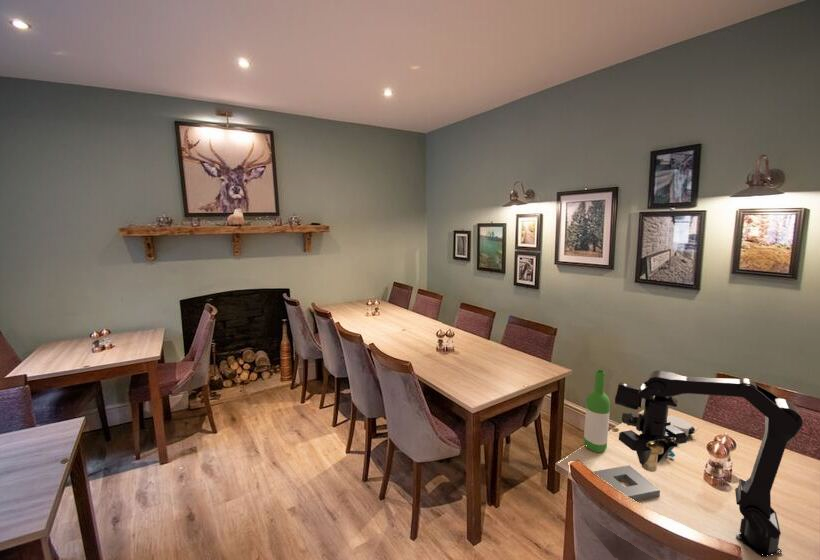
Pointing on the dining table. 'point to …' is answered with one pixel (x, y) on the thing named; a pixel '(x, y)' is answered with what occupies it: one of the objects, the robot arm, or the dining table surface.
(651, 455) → the door knob
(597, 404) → the wine bottle
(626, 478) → the housing plate
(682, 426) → the robot toy
